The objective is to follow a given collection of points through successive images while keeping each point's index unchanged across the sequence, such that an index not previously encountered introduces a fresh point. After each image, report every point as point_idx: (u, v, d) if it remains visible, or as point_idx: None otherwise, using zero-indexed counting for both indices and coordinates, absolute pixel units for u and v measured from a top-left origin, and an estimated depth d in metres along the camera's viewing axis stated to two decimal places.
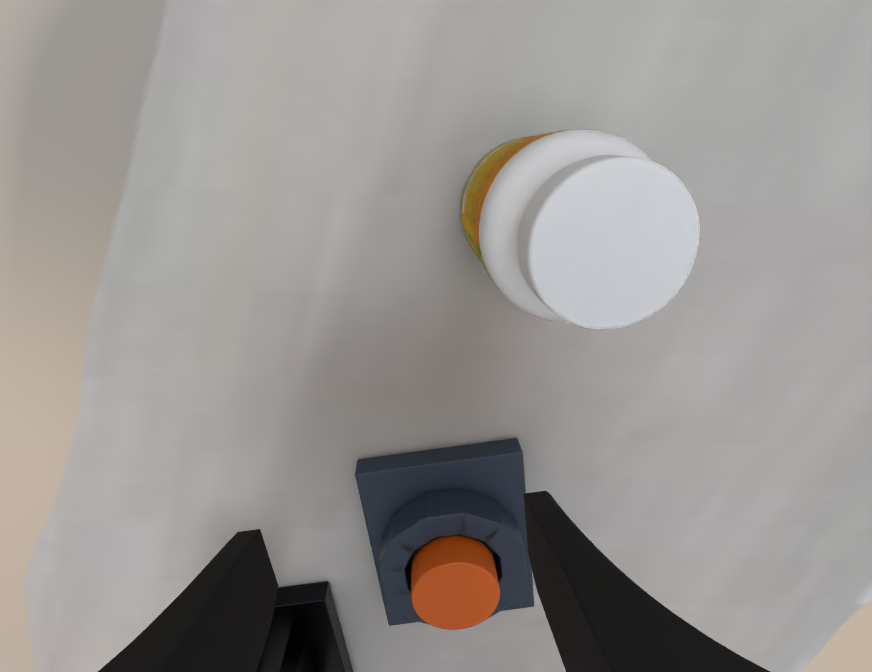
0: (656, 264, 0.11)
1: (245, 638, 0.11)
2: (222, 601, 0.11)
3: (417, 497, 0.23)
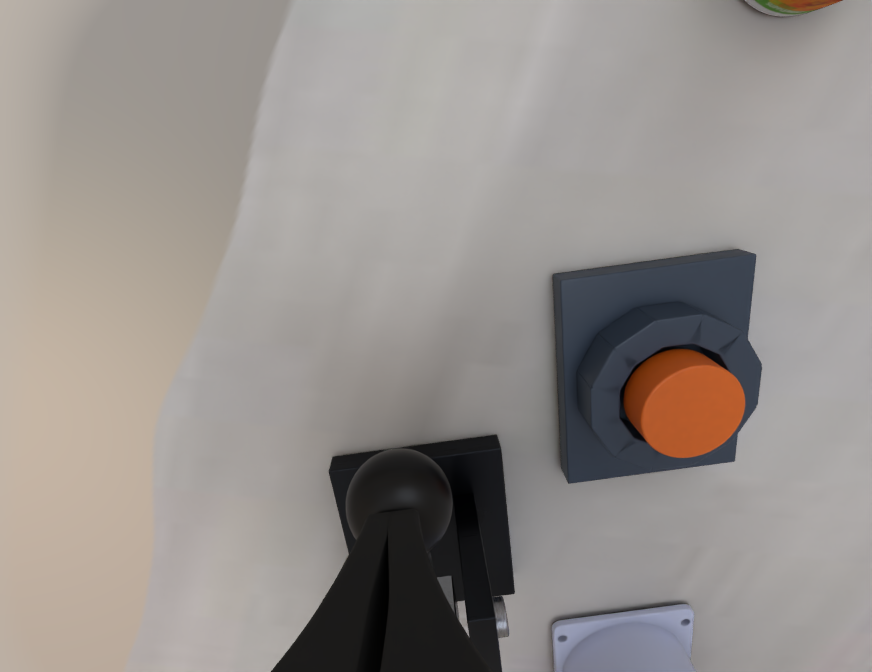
0: None
1: None
2: (380, 580, 0.11)
3: (628, 312, 0.20)
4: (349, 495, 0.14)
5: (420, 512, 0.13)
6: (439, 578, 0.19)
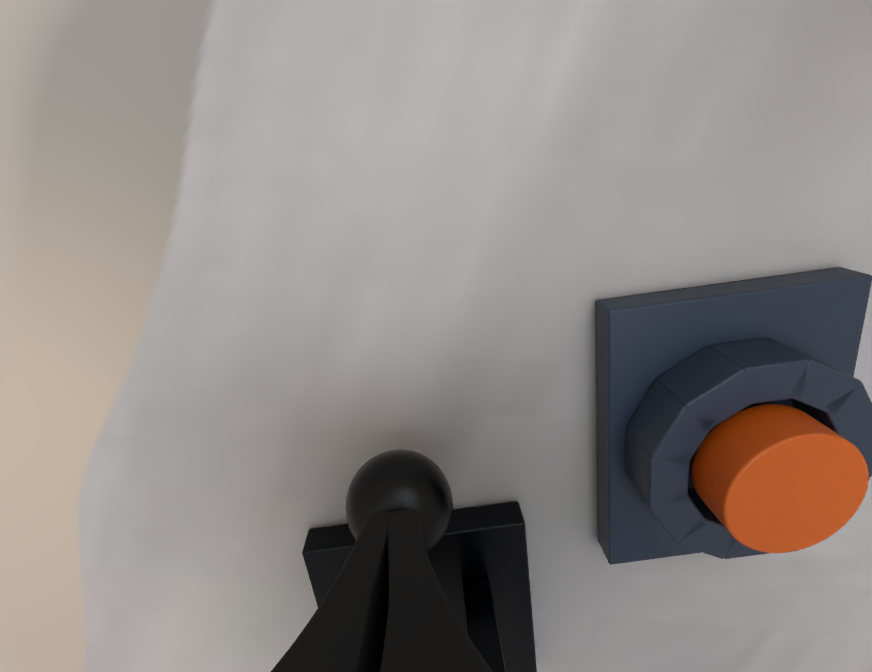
0: None
1: None
2: (381, 580, 0.11)
3: (697, 352, 0.15)
4: (351, 482, 0.14)
5: (416, 477, 0.14)
6: None
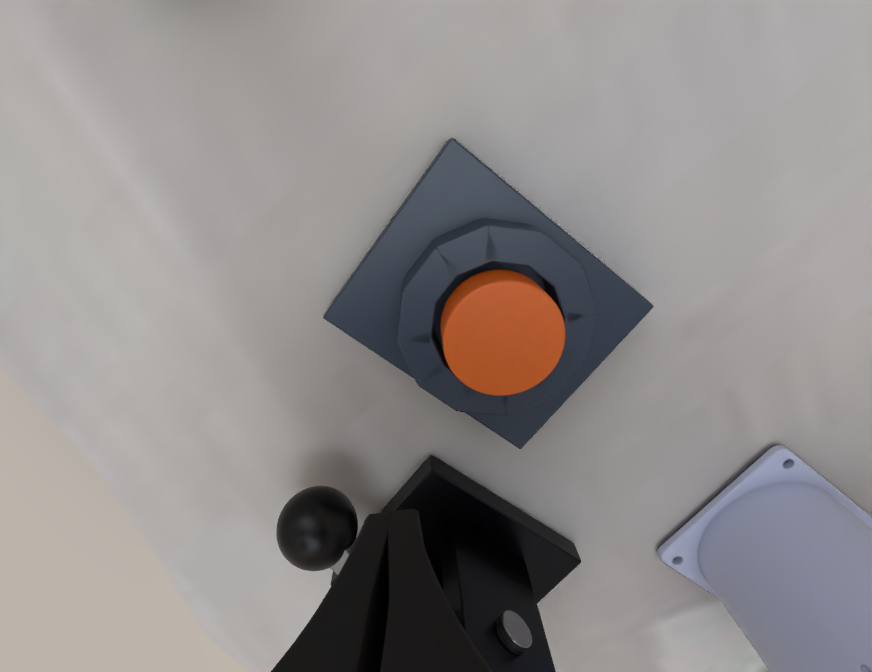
0: None
1: None
2: (380, 580, 0.11)
3: (402, 288, 0.18)
4: None
5: (295, 511, 0.19)
6: None
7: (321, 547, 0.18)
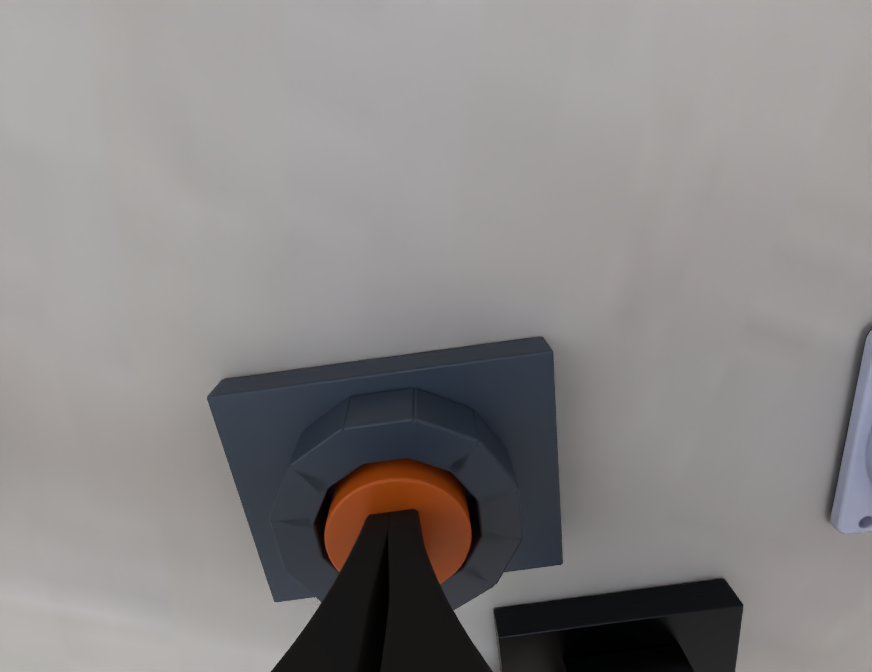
0: None
1: None
2: (381, 580, 0.11)
3: None
4: None
5: None
6: None
7: None
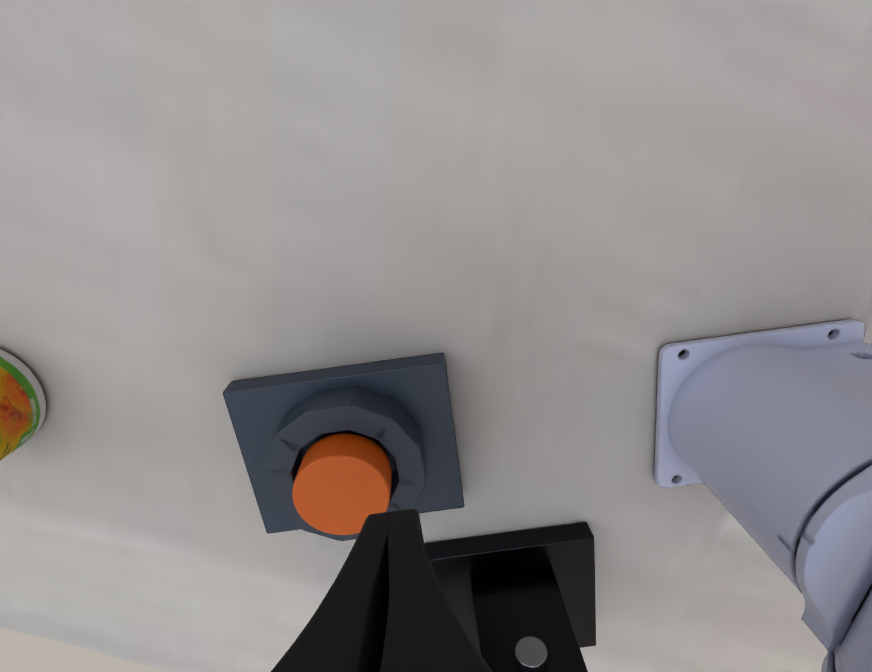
0: None
1: None
2: (380, 580, 0.11)
3: None
4: None
5: None
6: None
7: None
